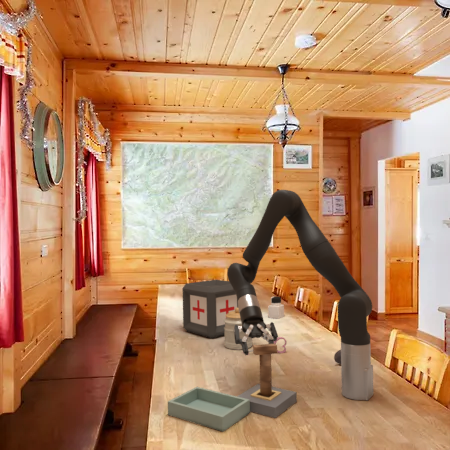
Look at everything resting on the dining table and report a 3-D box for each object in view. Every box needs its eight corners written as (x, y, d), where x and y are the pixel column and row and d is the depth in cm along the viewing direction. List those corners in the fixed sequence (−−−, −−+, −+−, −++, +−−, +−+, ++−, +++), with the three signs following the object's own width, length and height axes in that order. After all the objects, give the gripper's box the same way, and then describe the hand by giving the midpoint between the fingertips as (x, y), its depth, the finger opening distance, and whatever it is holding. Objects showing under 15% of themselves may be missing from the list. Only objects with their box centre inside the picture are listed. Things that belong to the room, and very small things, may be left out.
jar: (250, 350, 197) (249, 310, 197) (221, 349, 200) (220, 310, 200) (254, 342, 210) (253, 305, 210) (227, 341, 213) (226, 304, 213)
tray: (250, 413, 134) (249, 399, 133) (222, 431, 122) (222, 417, 122) (197, 398, 145) (196, 386, 145) (167, 414, 133) (167, 401, 133)
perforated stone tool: (337, 367, 173) (336, 349, 173) (331, 363, 178) (330, 345, 178) (372, 364, 176) (372, 346, 176) (365, 360, 181) (365, 342, 181)
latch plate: (296, 401, 141) (296, 390, 141) (275, 418, 130) (275, 406, 130) (258, 392, 149) (258, 382, 149) (235, 407, 138) (234, 396, 138)
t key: (275, 401, 142) (273, 343, 142) (278, 405, 138) (277, 346, 138) (253, 403, 141) (252, 344, 140) (257, 408, 137) (255, 347, 137)
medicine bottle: (284, 316, 265) (284, 296, 265) (279, 319, 259) (278, 298, 259) (273, 315, 269) (273, 295, 269) (268, 317, 263) (267, 297, 263)
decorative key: (242, 361, 192) (287, 351, 194) (243, 361, 191) (288, 351, 193) (239, 345, 192) (284, 335, 194) (240, 346, 191) (285, 336, 193)
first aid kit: (211, 340, 216) (210, 288, 216) (180, 331, 235) (179, 283, 235) (248, 331, 233) (247, 282, 233) (217, 323, 252) (216, 278, 251)
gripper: (231, 305, 152) (240, 349, 141) (271, 303, 155) (283, 345, 144) (228, 318, 158) (236, 360, 146) (267, 315, 160) (278, 357, 149)
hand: (260, 353), depth 145 cm, fingers open, 8 cm apart
